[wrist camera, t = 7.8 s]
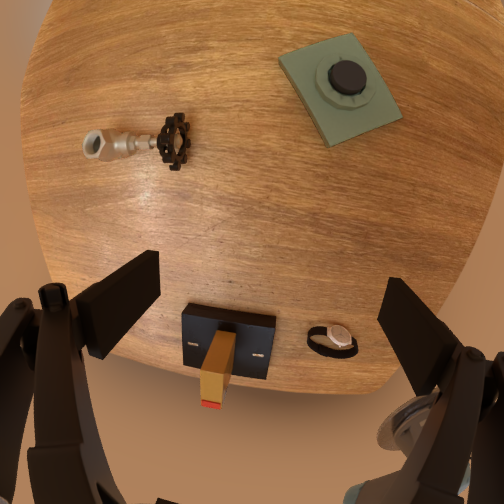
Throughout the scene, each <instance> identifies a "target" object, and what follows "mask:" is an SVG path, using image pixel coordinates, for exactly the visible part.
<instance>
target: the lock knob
mask: <svg viewBox="0 0 504 504" xmlns="http://www.w3.org/2000/svg"><path fill="white" fill-rule="evenodd" d="M235 340H236V333H231V332H225V331H219V330H217V331H216V333H215V336H214V338H213V340H212V343H211V345H210V348H209V350H208V352H207V355H206V357H205V360H204V362H203V364H202V367H201V369H200V389H201V405H202V406H204V407H209V408H215V409H222V406H223V402H224V399H225V395H226V392H227V388H228V384H229V381H230V377H231V373H232V369H233V362H234V351H235Z"/></svg>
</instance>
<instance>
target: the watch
mask: <svg viewBox="0 0 504 504" xmlns="http://www.w3.org/2000/svg"><path fill="white" fill-rule="evenodd" d="M313 335H325V336H327V337H330V339H331V340H332V341H333V342H334V343H336V344H337V345H339V347H341V346H346V345H348V344H351V345H354V347H353V348H350V349H347V350H335V349H331V348H328V347H325V346H323V345H321V344H317V343H315V342H314V341H312V340H311V339H310V337H311V336H313ZM307 344H308V346H309V347H310V348H311V349H312V350H313V351H315V352H317V353H318V354H320V355H323V356H325V357H328V356H329V357H332V358H338V359H345V358H350V357H353V356H355V355H356V354H357V353H358V345H357V341H356V339H355V338H354V337H352V336H351V335H350V334H349V332H348V331H347V330H346V329H345V328H344V327H342V326H340V325H334V326H332V327H330V328H329V327H323V326H316V327H313V328H311V329H310V330H309V331H308V338H307Z"/></svg>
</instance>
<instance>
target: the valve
mask: <svg viewBox="0 0 504 504" xmlns="http://www.w3.org/2000/svg"><path fill="white" fill-rule="evenodd" d="M184 120H185V114H184V113H175V114H174V116H172V117H167V118H166V120H165V125H164V126H163V127H162V129H161V133H160V134H159V135H158V137H157V138H155V137H154V135H141V136H140V137H139V136H137V134H136V132H134V131H126V132H124V133H121V132H119V131H118V130H116V129H105V130H104V129H97V130H90V131H88V133H87V134H86V136H85V138H84V140H83V143H82V149H83V152H84V155H85V157H86V158H87V159H95V158H98V159H99V160H101V161H104V162H110V161H113V160H115V159H120V158H127V157H128V156H131V155H134V154H135V153H136V151H137V150H139V149H142V150H149V149H153V148H154V146H157V148H158V149H159V152H160V155H161V156H162V160H163V163H173V165H169V168H170V170H171V171H179V170H180V168H181V164H186V163H187V155H186V154H185V152H186V148H190V145H191V141H190V139H187V131H189V129H190V124H189V122H184ZM168 128H169V131H168V133H167V129H168ZM177 128H178V129H179V131H180V134H175V133H176V130H177ZM179 148H180V149H179ZM175 149H179V152H178V154H176V152H175ZM165 150H167V151H168V153H165Z"/></svg>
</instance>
